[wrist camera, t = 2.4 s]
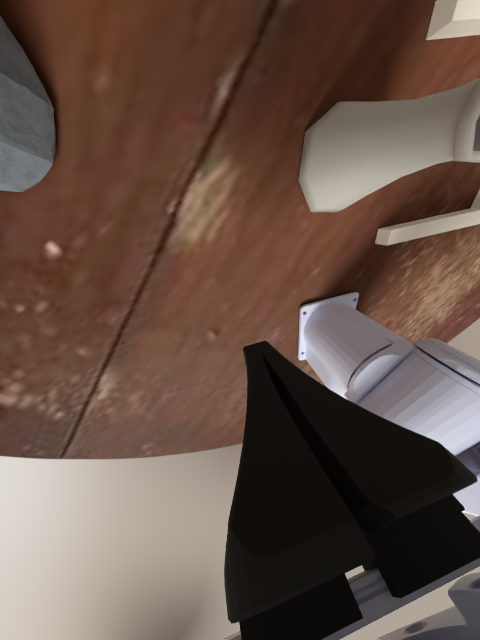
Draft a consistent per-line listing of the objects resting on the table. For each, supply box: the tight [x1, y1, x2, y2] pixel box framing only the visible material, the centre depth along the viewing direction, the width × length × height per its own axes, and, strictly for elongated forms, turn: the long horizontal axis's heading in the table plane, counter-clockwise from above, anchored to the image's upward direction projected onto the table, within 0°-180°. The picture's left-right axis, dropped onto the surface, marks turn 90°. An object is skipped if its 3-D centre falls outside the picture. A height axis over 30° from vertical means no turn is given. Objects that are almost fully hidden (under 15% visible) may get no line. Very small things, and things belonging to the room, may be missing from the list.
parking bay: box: [375, 0, 480, 246], centre depth 16 cm, size 15×14×2 cm
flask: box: [298, 77, 480, 212], centre depth 11 cm, size 7×7×10 cm
